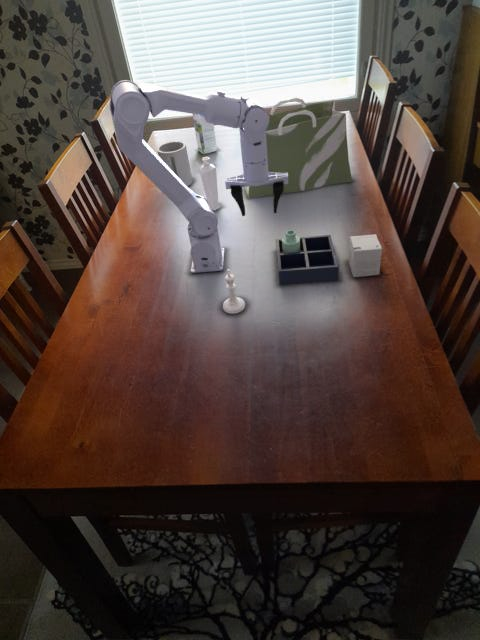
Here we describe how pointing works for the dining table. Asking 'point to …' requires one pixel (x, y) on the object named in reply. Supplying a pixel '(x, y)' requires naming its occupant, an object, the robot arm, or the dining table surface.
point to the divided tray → (308, 261)
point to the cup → (176, 159)
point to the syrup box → (204, 135)
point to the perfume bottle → (210, 183)
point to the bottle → (291, 242)
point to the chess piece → (232, 297)
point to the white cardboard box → (365, 255)
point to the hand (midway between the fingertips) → (259, 212)
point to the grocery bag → (306, 147)
